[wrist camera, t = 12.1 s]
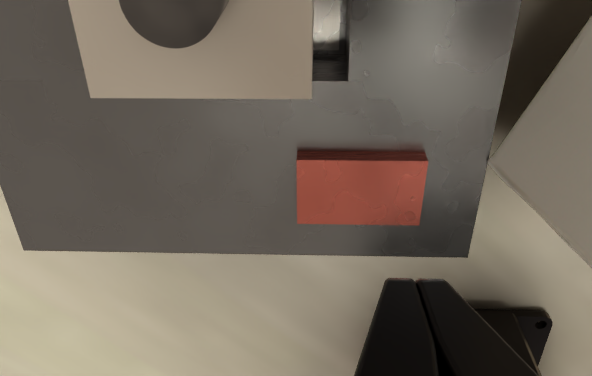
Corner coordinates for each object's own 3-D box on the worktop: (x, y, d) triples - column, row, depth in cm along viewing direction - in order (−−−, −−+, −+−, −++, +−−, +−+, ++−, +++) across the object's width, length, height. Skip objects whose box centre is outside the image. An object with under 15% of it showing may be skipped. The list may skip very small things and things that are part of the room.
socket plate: (449, 209, 21) (471, 268, 18) (58, 204, 22) (15, 260, 19) (546, -339, 13) (618, -401, 10) (-99, -324, 13) (-224, -379, 10)
